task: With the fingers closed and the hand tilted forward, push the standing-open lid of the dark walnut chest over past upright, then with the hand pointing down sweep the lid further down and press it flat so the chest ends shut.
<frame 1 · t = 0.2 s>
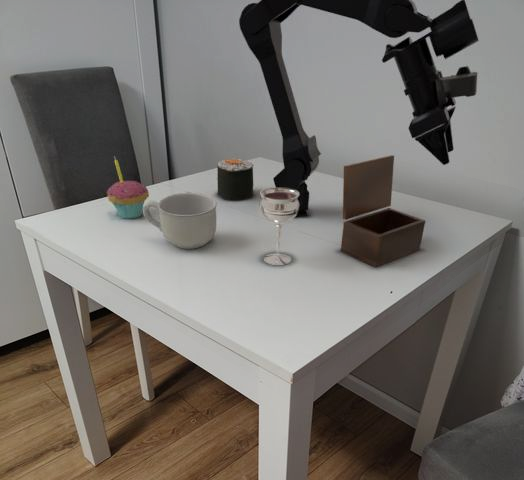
hand: (448, 157, 92), 15 cm above the table, tool tilted 30°, fingers open, 9 cm apart
wineglass: (277, 260, 89), on the table
teacup: (182, 242, 95), on the table
cupcake: (131, 215, 106), on the table
lid: (368, 187, 89), point 11 cm above the table, hinge at 97.0°
chest: (380, 250, 92), on the table
sushi: (235, 195, 118), on the table
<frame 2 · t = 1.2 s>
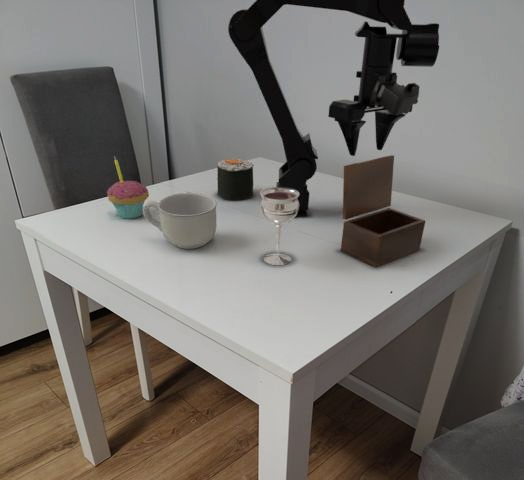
hand: (366, 152, 101), 13 cm above the table, tool pointing down, fingers open, 8 cm apart
nothing on the table moved.
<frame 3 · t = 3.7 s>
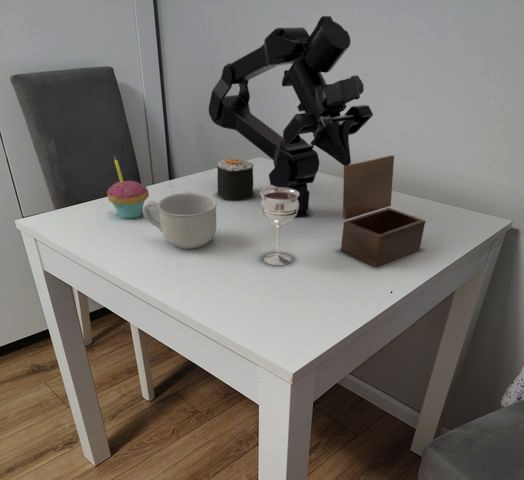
hand: (348, 164, 91), 14 cm above the table, tool tilted 45°, fingers closed
nothing on the table moved.
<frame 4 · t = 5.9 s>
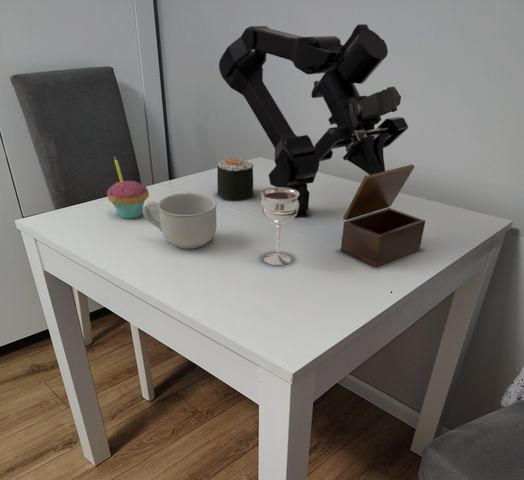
hand: (382, 180, 86), 13 cm above the table, tool tilted 45°, fingers closed
lid: (378, 192, 88), point 10 cm above the table, hinge at 65.6°
everything else where it was.
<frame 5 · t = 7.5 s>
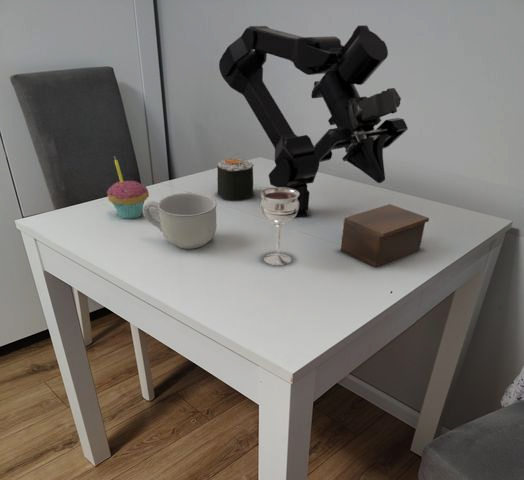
hand: (382, 181, 86), 12 cm above the table, tool tilted 45°, fingers closed
lid: (386, 219, 88), point 6 cm above the table, hinge at -0.3°
everything else where it was.
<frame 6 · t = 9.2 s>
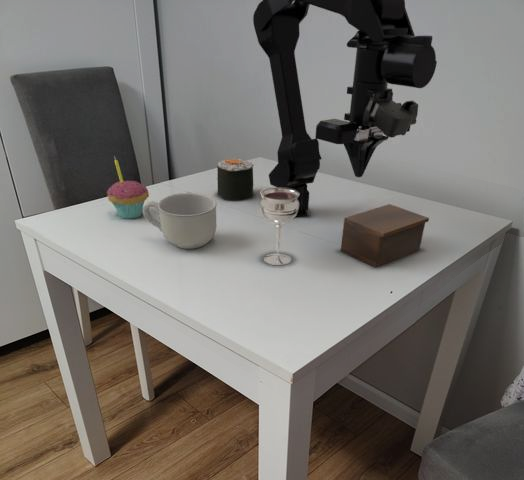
hand: (358, 176, 90), 12 cm above the table, tool pointing down, fingers closed
nothing on the table moved.
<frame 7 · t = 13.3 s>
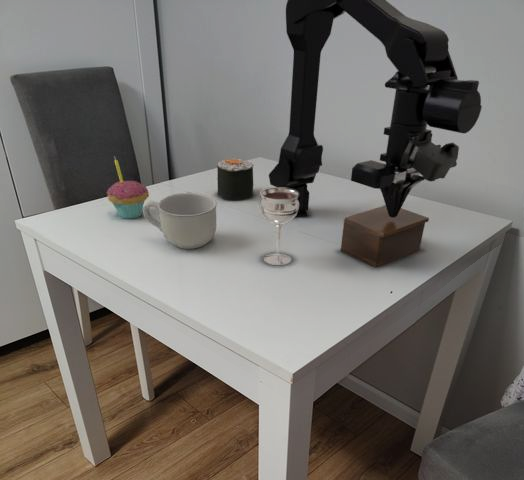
hand: (392, 216, 87), 7 cm above the table, tool pointing down, fingers closed
nothing on the table moved.
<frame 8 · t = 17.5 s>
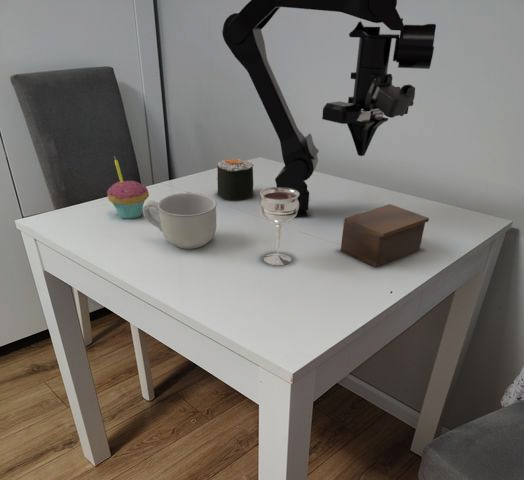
hand: (361, 155, 99), 13 cm above the table, tool pointing down, fingers closed
nothing on the table moved.
at the end: lid at +0° (first picture: +97°); the gripper is holding nothing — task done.
